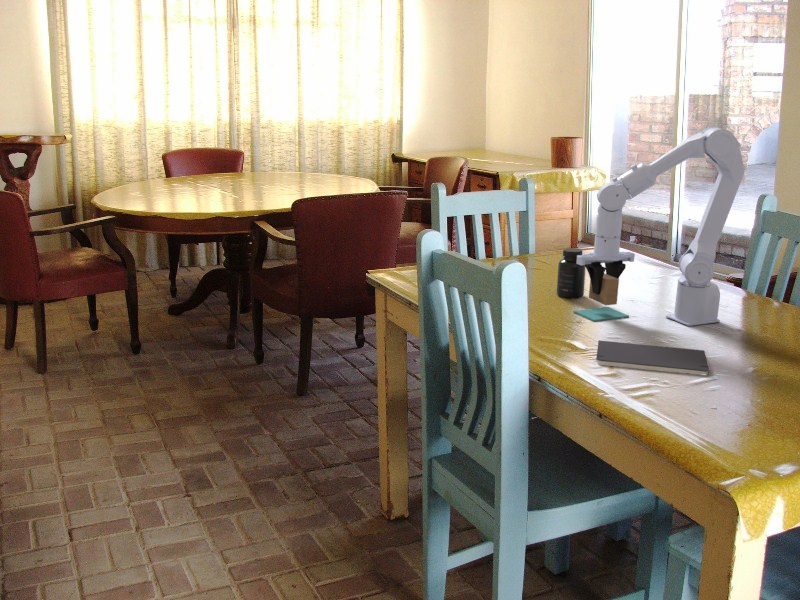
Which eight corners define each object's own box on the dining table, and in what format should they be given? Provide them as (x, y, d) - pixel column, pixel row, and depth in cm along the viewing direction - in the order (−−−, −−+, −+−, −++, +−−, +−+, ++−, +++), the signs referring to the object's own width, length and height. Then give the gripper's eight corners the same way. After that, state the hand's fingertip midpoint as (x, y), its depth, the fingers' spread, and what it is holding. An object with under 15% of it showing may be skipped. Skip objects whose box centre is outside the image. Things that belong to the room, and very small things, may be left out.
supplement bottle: (563, 290, 224) (566, 245, 221) (587, 295, 220) (591, 249, 217) (551, 296, 219) (554, 250, 215) (576, 301, 215) (580, 253, 212)
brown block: (588, 297, 205) (590, 273, 203) (599, 296, 206) (601, 272, 204) (605, 305, 199) (608, 280, 197) (616, 304, 200) (619, 279, 198)
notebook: (703, 357, 177) (597, 347, 182) (704, 350, 176) (598, 340, 181) (708, 378, 165) (595, 366, 170) (709, 370, 165) (596, 359, 170)
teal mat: (607, 308, 209) (607, 306, 209) (628, 317, 202) (629, 315, 202) (573, 312, 205) (573, 310, 205) (593, 321, 198) (593, 319, 198)
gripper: (590, 240, 192) (585, 299, 196) (644, 237, 197) (638, 294, 201) (573, 234, 198) (569, 291, 202) (626, 231, 204) (621, 287, 207)
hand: (602, 292), depth 202 cm, fingers closed on brown block, 3 cm apart
